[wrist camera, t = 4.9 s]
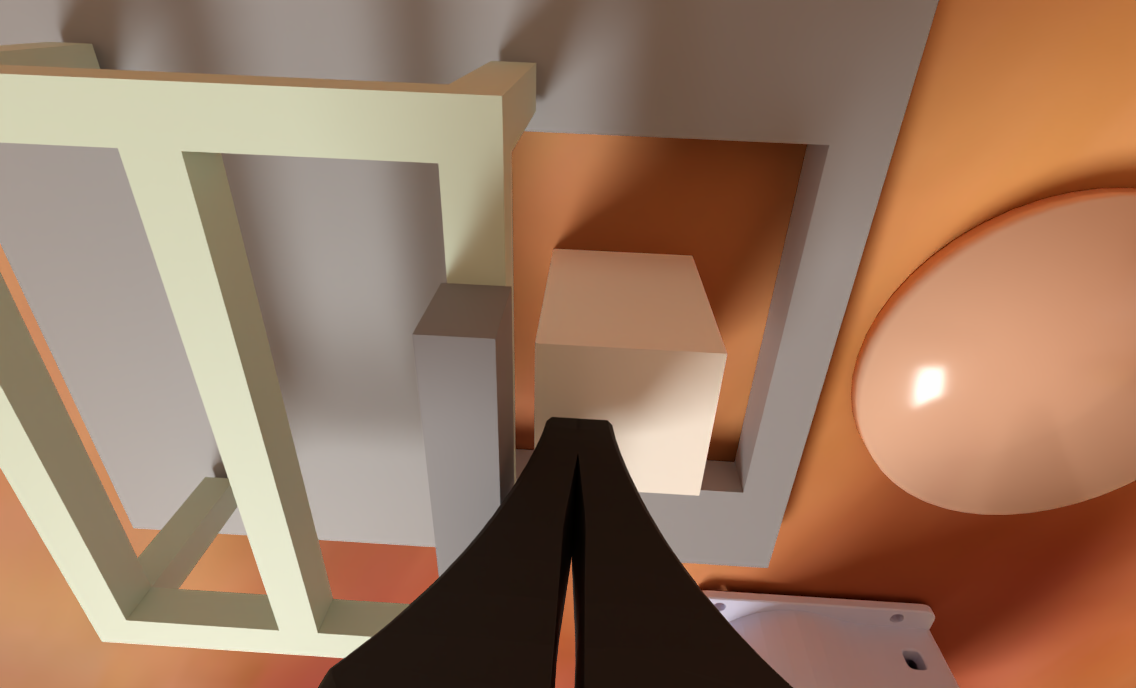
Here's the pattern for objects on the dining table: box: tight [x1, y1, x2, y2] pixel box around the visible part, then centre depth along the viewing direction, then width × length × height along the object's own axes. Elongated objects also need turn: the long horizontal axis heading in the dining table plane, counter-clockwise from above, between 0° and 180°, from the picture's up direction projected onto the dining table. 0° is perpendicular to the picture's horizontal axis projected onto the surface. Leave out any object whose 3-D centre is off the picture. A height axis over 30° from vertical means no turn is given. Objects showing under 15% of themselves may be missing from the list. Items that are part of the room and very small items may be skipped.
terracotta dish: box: [851, 188, 1136, 515], centre depth 18 cm, size 11×11×1 cm
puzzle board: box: [0, 0, 939, 568], centre depth 18 cm, size 23×18×2 cm
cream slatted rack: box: [0, 42, 536, 658], centre depth 14 cm, size 11×14×7 cm
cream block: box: [534, 249, 727, 496], centre depth 16 cm, size 4×4×6 cm
